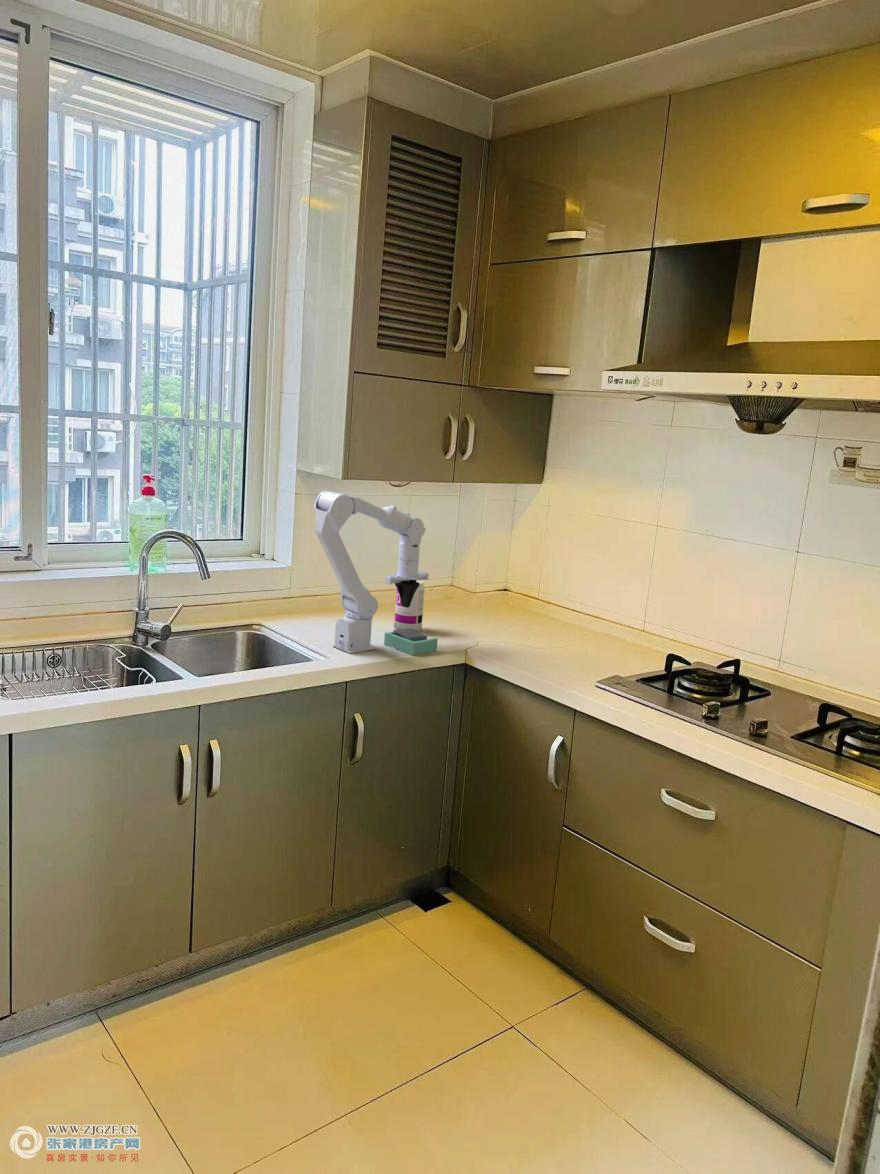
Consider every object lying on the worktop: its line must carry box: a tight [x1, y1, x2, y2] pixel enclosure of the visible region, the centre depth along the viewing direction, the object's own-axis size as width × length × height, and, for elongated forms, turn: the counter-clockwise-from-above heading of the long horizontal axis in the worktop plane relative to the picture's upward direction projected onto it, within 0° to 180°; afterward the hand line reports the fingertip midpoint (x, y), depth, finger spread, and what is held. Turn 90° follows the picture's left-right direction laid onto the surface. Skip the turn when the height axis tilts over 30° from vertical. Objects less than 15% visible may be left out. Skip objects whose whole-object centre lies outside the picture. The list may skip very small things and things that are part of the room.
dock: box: [383, 631, 439, 656], centre depth 245 cm, size 9×12×4 cm
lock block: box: [393, 628, 428, 642], centre depth 245 cm, size 6×8×4 cm
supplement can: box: [393, 580, 425, 632], centre depth 262 cm, size 8×8×15 cm
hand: (405, 606), depth 248 cm, fingers closed
